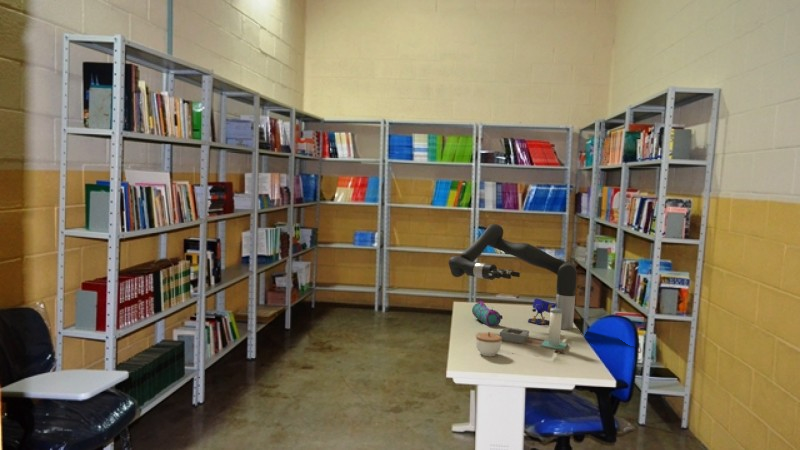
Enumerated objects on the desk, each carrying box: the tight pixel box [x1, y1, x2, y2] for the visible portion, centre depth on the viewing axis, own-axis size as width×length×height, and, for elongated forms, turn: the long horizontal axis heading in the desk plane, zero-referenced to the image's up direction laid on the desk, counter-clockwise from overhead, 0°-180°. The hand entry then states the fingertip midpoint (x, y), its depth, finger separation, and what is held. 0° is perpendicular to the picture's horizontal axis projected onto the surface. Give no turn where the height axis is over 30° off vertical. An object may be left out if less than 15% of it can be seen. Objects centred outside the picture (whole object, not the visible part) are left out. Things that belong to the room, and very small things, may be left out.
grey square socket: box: [499, 326, 530, 345], centre depth 263 cm, size 11×11×4 cm
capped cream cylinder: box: [547, 307, 562, 346], centre depth 255 cm, size 5×5×16 cm
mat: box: [541, 339, 567, 350], centre depth 255 cm, size 10×10×1 cm
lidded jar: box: [475, 332, 502, 357], centre depth 241 cm, size 11×11×9 cm
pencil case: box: [471, 300, 503, 327], centre depth 295 cm, size 21×9×10 cm, turn 14°
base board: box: [501, 336, 569, 354], centre depth 260 cm, size 14×30×1 cm, turn 65°
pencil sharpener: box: [527, 298, 556, 326], centre depth 302 cm, size 14×18×13 cm
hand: (515, 275), depth 265 cm, fingers open, 8 cm apart
